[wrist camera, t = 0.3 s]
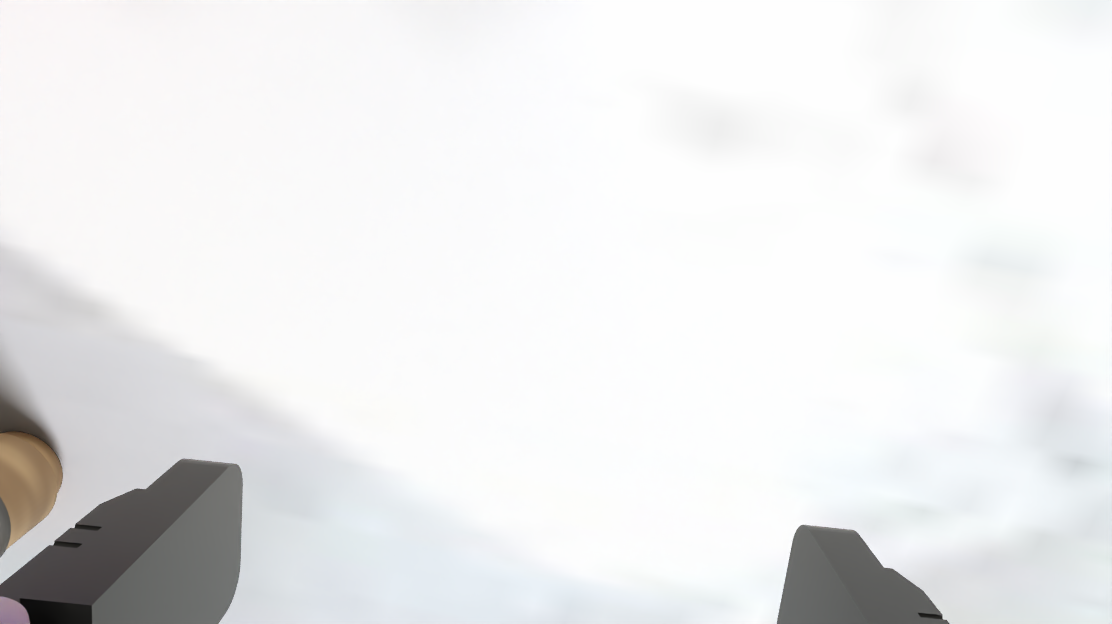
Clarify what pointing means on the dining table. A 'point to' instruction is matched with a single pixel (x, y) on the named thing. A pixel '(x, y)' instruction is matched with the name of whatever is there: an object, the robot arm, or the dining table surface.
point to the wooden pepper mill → (25, 484)
